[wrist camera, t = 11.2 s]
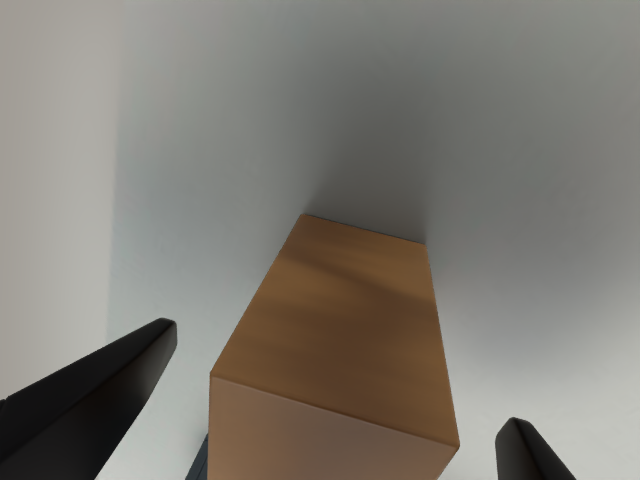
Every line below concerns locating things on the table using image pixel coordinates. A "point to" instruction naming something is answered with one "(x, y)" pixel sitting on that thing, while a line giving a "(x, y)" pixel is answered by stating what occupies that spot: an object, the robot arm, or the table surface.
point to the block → (335, 366)
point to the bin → (200, 464)
